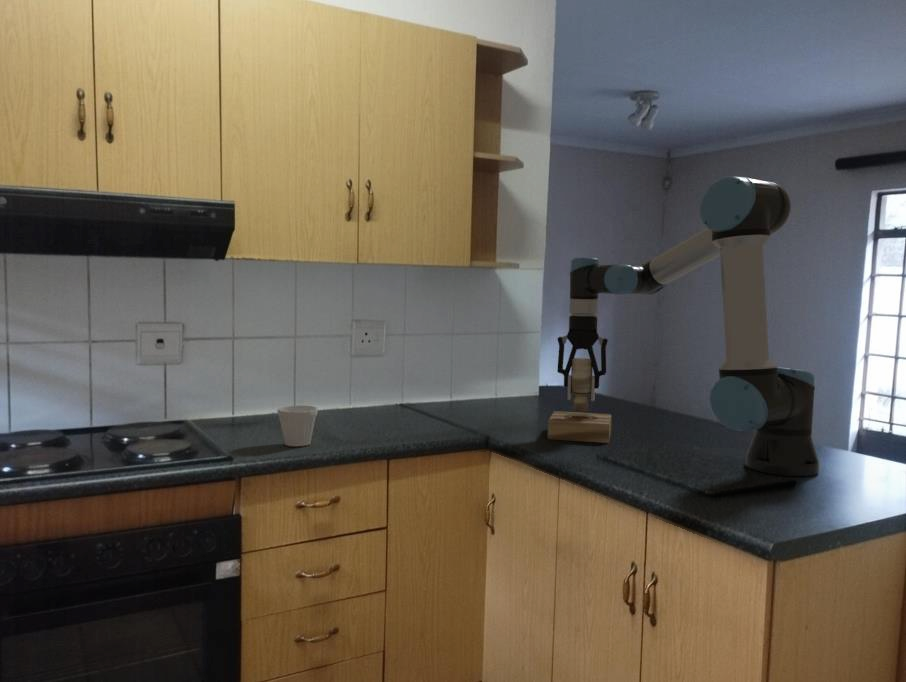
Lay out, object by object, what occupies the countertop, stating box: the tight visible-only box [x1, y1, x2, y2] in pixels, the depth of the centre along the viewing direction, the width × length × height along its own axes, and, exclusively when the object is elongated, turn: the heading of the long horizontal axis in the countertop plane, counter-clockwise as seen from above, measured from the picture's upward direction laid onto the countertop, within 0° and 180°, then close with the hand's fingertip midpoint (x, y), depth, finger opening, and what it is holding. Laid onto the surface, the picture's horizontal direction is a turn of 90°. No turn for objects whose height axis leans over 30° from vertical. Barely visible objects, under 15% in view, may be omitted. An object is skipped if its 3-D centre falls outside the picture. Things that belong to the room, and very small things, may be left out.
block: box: [547, 410, 612, 444], centre depth 195 cm, size 15×16×5 cm
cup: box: [277, 405, 319, 448], centre depth 180 cm, size 10×10×9 cm
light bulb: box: [570, 357, 593, 412], centre depth 195 cm, size 6×6×14 cm
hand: (581, 399), depth 195 cm, fingers closed on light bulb, 6 cm apart
